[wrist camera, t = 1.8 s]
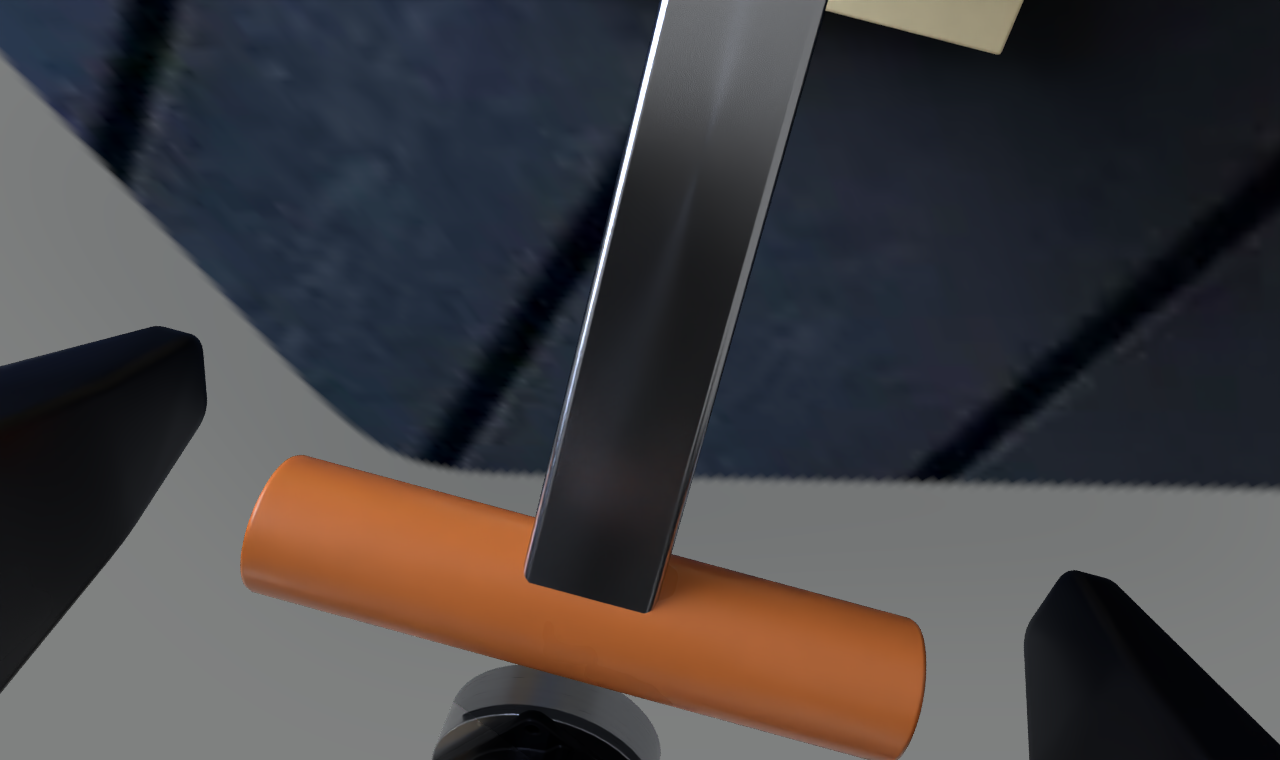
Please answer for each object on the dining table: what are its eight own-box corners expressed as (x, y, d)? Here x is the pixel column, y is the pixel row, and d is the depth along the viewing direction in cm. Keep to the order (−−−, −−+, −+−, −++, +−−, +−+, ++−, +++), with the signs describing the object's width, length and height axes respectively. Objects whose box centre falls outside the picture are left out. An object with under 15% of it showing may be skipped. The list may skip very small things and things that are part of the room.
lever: (855, 674, 9) (908, 855, 6) (324, 530, 9) (184, 656, 6) (1328, -679, 6) (1710, -1208, 4) (574, -860, 6) (494, -1478, 4)
